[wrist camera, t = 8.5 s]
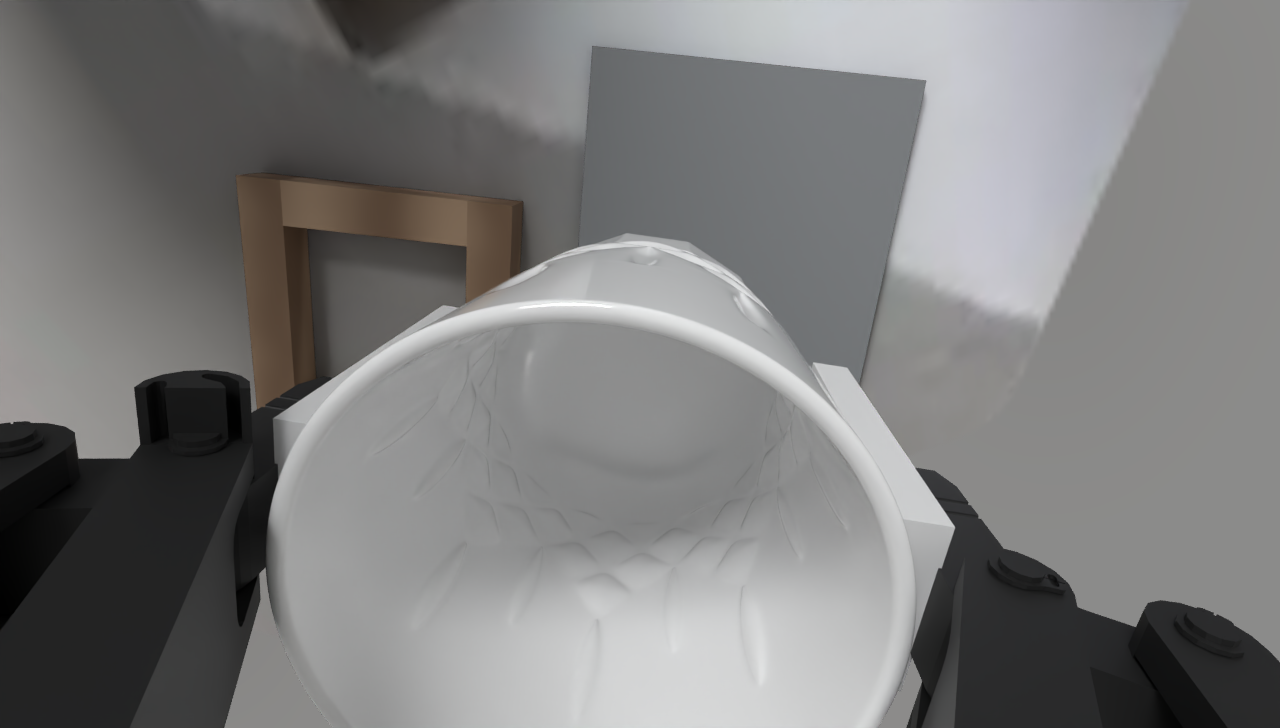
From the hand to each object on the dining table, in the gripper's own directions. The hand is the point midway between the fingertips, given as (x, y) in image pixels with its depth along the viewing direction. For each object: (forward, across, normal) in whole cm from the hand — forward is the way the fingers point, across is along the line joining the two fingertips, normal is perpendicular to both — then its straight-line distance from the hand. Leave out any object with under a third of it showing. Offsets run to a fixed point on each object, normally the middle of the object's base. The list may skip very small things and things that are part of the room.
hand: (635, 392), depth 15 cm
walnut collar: (+17, -13, -5) cm, 22 cm away
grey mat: (+18, +3, +2) cm, 18 cm away
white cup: (+3, 0, 0) cm, 3 cm away
